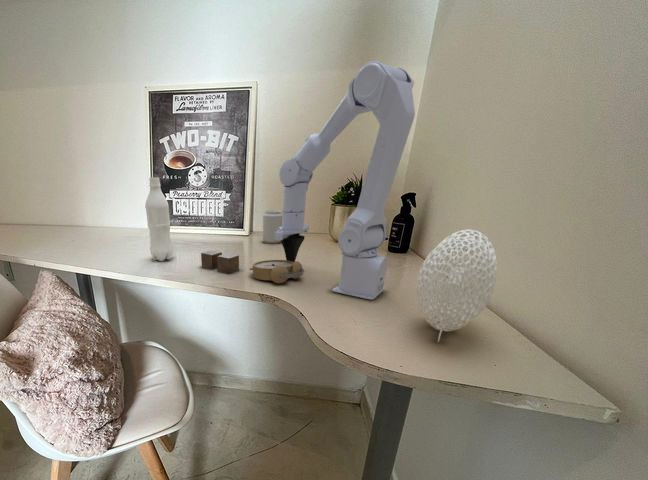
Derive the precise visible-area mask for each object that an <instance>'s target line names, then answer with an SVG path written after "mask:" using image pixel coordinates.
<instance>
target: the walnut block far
mask: <svg viewBox="0 0 648 480" xmlns="http://www.w3.org/2000/svg"><path fill="white" fill-rule="evenodd" d="M220 255H223V252H221V251H217V250H207V251H203V252H200V258H201V259H200V261H201V263H200V264H201V268H202V269H207V270H210V271H211V270H212V271H213V270H216V269H218V262H217V256H220Z"/></svg>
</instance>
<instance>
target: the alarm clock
mask: <svg viewBox="0 0 648 480" xmlns="http://www.w3.org/2000/svg"><path fill="white" fill-rule="evenodd" d="M249 270H250V271H252V277H253V278H254V279H256V280H259V281H261V280H262V281H272V282H273V283H275V284H284V283H285V282H287V280H288V279H293V280H298V279H300V278H301V276H303V275H304V272H305V269H304V268H303V265H302V264H301V262H300V261H297V260H295V262H292V261H288V260H286V259H268V260H267V259H266V260H261V261H256V262H254V263H253V264H252V267H250V268H249Z"/></svg>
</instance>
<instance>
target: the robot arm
mask: <svg viewBox="0 0 648 480" xmlns="http://www.w3.org/2000/svg"><path fill="white" fill-rule="evenodd" d="M414 85H415V80H414V79H413V78H412V77H411V75H410V74H409V73H408V71H407V69H404V68H402V67H395V66H391V65H388V64H384V63H382V62H381V61H378V60H371V61H368V62H367V63H364V65H363V66H362V67H360V69H359V70H358V72H357V74H356V75H355V77H354V78H352V79H351V80H350V81H349V83H348V88H347V90H346V93H345V95H344V97H343V98H342V99H341V101H340V103H339V104H338V105H337V106H336V108H335V110H334V111H333V112H332V114H331V115H330V117H329V118H328V120H327V121H326V123H325V124H324V126H323V127H322V128H321V129H320V131H319V133H313V134H311V135H309V136H307V137H306V138H305V140H304V144H303V145H302V146H301V148H300V149H299V150H298V151H297V152H296V153H295V154H294V155H293V157H292V158H291V159H289V160H285V161H284V162H283V163H282V164H281V167H280V169H279V180H280V182H281V184H282V185H283V192H282V193H283V195H282V215H283V216H282V227H279V228H278V231H277V232H275V236H274V239H275V240H280V243H281V245H282V248H283V251H284V255H285V260H288V261H292V262H295V261H297V260H296V259H297V256H298V253H299V250H300V248H301V246H302V244H303V242H304V241H305V235H302V234H304V233H308V232H309V228H310V225H309V224H305V214H306V201H307V192H308V190H309V184H310V183H311V181H312V179H313V175H314V173H313V172H314V171H315V170H316V168H318V166H320V164H321V163H322V162H323V161H324V159H326V157H327V156H328V155H329V154H330V152H331V144H332V143H333V142H334V141H335V140H336V138H338V136H339V135H340V134H341V133H342V132H343V131H344V130H345V129H346V128H347V127H348V126H349V125H350V124H351V123H352V122H353V121H354V120H355V119H356V117H358V116H359V115H361V114H365V113H370V112H372V113H373V115H374V117H375V119H376V120H377V122H378V123H379V128H378V130H377V131H378V132H377V135H376V139H375V142H374V145H373V148H372V152H371V156H370V159H369V164H368V166H367V171H366V173H365V177H364V181H363V184H362V188H361V191H360V195H359V199H358V201H357V206H356V208H355V209H354V210H353V212H352V213H351V214H350V215H349V216H348V217H347V219H346V222H345V225H344V227H343V228H341V230H340V232H339V234H338V237H337V244H338V247H339V249H340V250H341V255H342V258H341V266H340V274H339V282H338V285H337V286H335V287H333V288H332V289H331V292H333V293H338V294H342V295H346V296H352V297H357V298H361V299H364V300H365V299H366V300H370V301H373V300H374V299H376V298H377V297H378V296H379V295H381V294H382V293H383V292H384V291H385V288H384V287H385V280H386V275H387V269H388V258H386V257H384V256H380V255H378V252H379V248H380V247H382V246H383V245H384V243H385V241H386V238H387V231H386V226H387V222H388V218H387V217H386V215H385V212H384V211H385V209H386V206H387V203H388V199H389V196H390V194H391V191H392V187H393V184H394V182H395V181H394V180H395V178H396V175H397V171H398V168H399V166H400V163H401V159H402V156H403V153H404V151H405V147H406V144H407V140H408V138H409V135H410V131H411V128H412V125H413V122H414V120H415V115H416V109H415V104H414V103H415V102H414V95H413V88H414Z"/></svg>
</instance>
